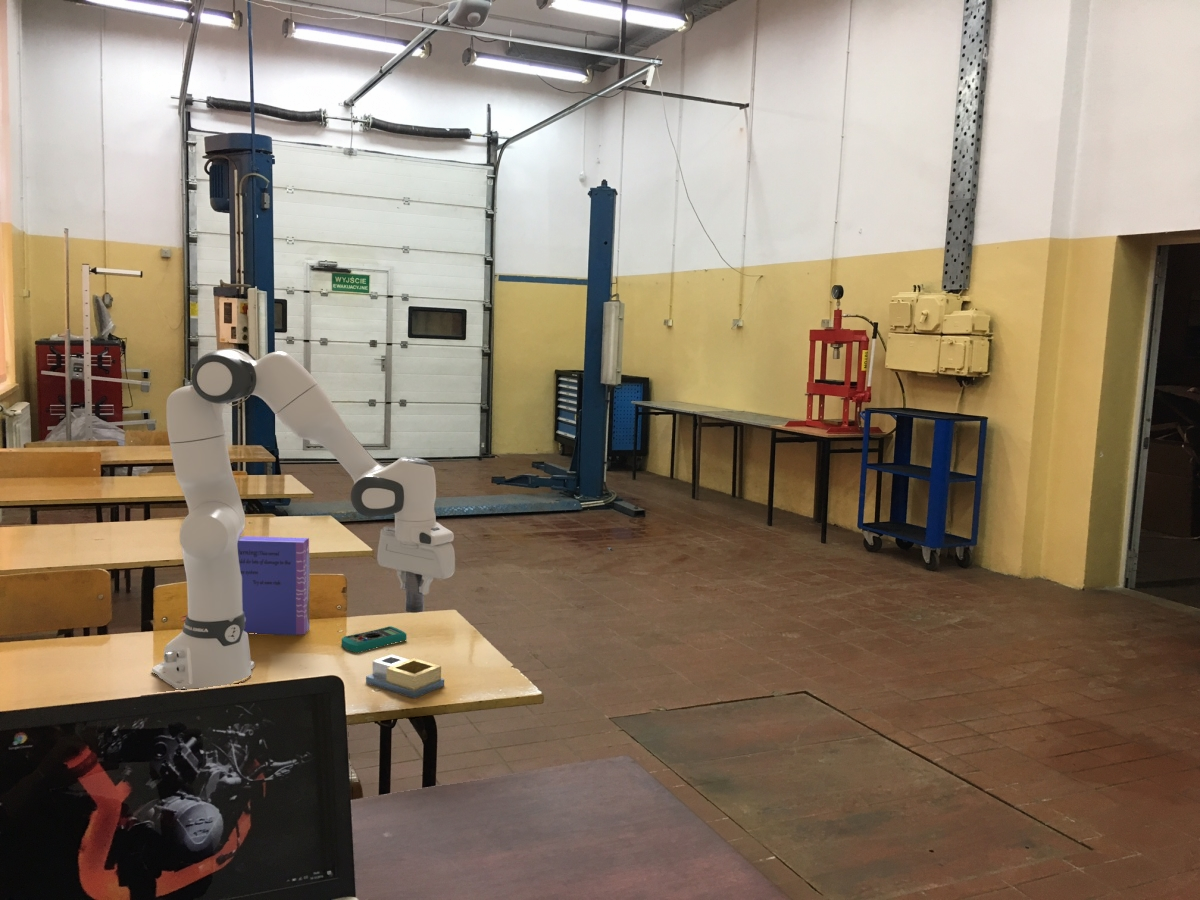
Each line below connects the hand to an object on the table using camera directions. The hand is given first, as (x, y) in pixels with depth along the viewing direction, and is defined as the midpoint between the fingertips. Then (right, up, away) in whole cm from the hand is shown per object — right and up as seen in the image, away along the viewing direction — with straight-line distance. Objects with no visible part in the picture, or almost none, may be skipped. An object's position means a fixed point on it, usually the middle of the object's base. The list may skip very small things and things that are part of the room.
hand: (414, 591), depth 212 cm
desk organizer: (-1, -20, -4) cm, 20 cm away
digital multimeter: (-14, -17, +23) cm, 32 cm away
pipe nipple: (0, -4, +1) cm, 4 cm away
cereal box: (-42, -15, +29) cm, 53 cm away
